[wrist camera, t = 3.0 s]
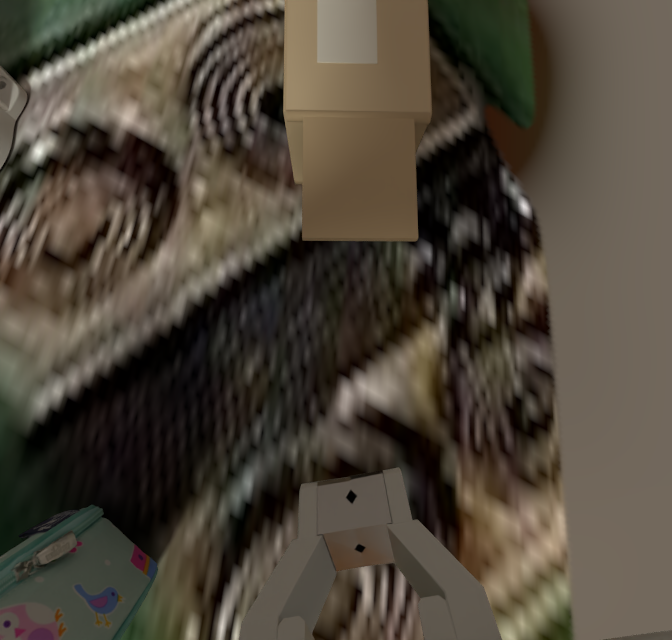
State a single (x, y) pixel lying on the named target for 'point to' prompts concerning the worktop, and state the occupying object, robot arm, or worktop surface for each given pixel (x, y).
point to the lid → (358, 114)
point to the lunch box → (72, 580)
